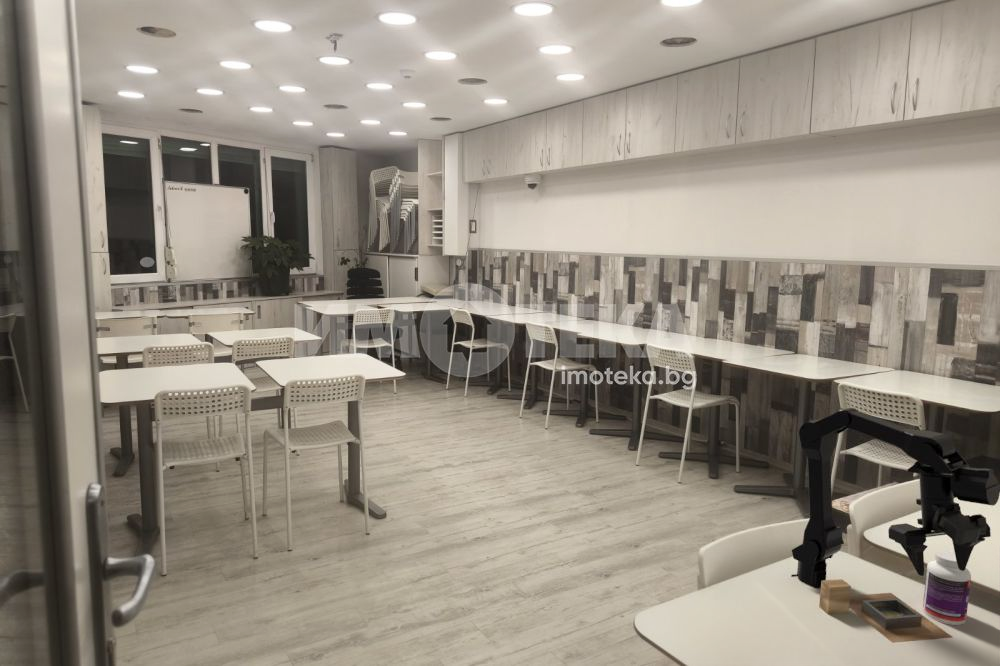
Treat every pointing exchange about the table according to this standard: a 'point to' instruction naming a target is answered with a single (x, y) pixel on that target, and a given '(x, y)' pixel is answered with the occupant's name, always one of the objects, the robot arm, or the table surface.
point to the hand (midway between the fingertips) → (941, 572)
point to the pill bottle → (946, 589)
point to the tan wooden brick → (835, 596)
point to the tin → (891, 613)
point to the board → (902, 634)
